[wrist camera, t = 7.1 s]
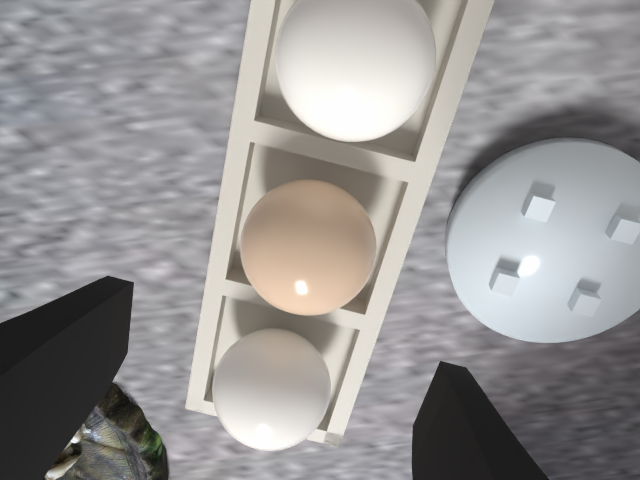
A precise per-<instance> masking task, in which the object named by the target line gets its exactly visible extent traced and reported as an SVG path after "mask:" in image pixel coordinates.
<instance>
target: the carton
mask: <svg viewBox="0 0 640 480" xmlns="http://www.w3.org/2000/svg"><path fill="white" fill-rule="evenodd" d="M295 1H296V0H251V4H250V10H249V16H248V22H247V28H246V35H245V41H244V47H243V53H242V59H241V66H240V72H239V78H238V84H237V91H236V97H235V103H234V109H233V115H232V122H231V128H230V134H229V140H228V146H227V153H226V159H225V165H224V171H223V177H222V184H221V190H220V196H219V202H218V209H217V215H216V221H215V227H214V233H213V240H212V246H211V252H210V258H209V264H208V271H207V277H206V283H205V289H204V295H203V302H202V308H201V314H200V320H199V327H198V333H197V339H196V345H195V351H194V358H193V364H192V370H191V376H190V382H189V389H188V395H187V401H186V407H185V409H189V410H193V411H197V412H201V413H205V414H209V415H213V416H217V413H216V411H215V407H214V403H213V393H212V387H213V378H214V375H215V371H216V368H217V366H218V364H219V362H220V360H221V358H222V356H223V355H224V353H225V352H226V351H227V350H228V348H229V347H230V346H231V345H232V344H233V343H235V342H236V341H237V340H239V339H240V338H241V337H243V336H245V335H246V334H249V333H251V332H254V331H257V330H260V329H267V328H279V329H286V330H289V331H292V332H295V333H297V334H299V335H301V336H303V337H304V338H306V339H307V340H308V341H310V342H311V343H312V344H313V345H314V346H315V347H316V348H317V350H318V351H319V352H320V354H321V355H322V357H323V358H324V361H325V363H326V365H327V368H328V371H329V375H330V382H331V394H330V400H329V405H328V408H327V411H326V413H325V415H324V418H323V419H322V421H321V423H320V424H319V426H318V427H317V428H316V429H315V431H314V432H313V433H312V434H311V435H310V436H308V437H307V438H306V439H308V440H312V441H316V442H320V443H324V444H328V445H332V446H336V447H339V446H340V443H341V440H342V437H343V434H344V431H345V429H346V426H347V423H348V420H349V417H350V414H351V411H352V408H353V406H354V403H355V400H356V397H357V394H358V391H359V388H360V386H361V383H362V380H363V377H364V374H365V371H366V368H367V365H368V363H369V360H370V357H371V354H372V351H373V348H374V345H375V342H376V340H377V337H378V334H379V331H380V328H381V325H382V322H383V319H384V317H385V314H386V311H387V308H388V305H389V302H390V299H391V297H392V294H393V291H394V288H395V285H396V282H397V279H398V276H399V274H400V271H401V268H402V265H403V262H404V259H405V256H406V253H407V251H408V248H409V245H410V242H411V239H412V236H413V233H414V231H415V228H416V225H417V222H418V219H419V216H420V213H421V210H422V208H423V205H424V202H425V199H426V196H427V193H428V190H429V187H430V185H431V182H432V179H433V176H434V173H435V170H436V167H437V164H438V162H439V159H440V156H441V153H442V150H443V147H444V144H445V142H446V139H447V136H448V133H449V130H450V127H451V124H452V121H453V119H454V116H455V113H456V110H457V107H458V104H459V101H460V98H461V96H462V93H463V90H464V87H465V84H466V81H467V78H468V75H469V73H470V70H471V67H472V64H473V61H474V58H475V55H476V53H477V50H478V47H479V44H480V41H481V38H482V35H483V32H484V30H485V27H486V24H487V21H488V18H489V15H490V12H491V9H492V7H493V4H494V1H495V0H417V1H418V2H419V4H420V5H421V6H422V8H423V10H424V11H425V13H426V15H427V17H428V19H429V22H430V24H431V27H432V30H433V34H434V38H435V45H436V65H435V72H434V76H433V80H432V84H431V86H430V89H429V91H428V94H427V95H426V97H425V99H424V101H423V103H422V104H421V105H420V107H419V108H418V110H417V111H416V112H415V113H414V114H413V115H412V116H411V118H410V119H409V120H407V121H406V122H405V123H404V124H403V125H402V126H400V127H399V128H397V129H396V130H394V131H393V132H391V133H389V134H387V135H384V136H382V137H379V138H376V139H373V140H368V141H362V142H345V141H339V140H334V139H331V138H328V137H325V136H323V135H321V134H319V133H317V132H315V131H314V130H312V129H311V128H309V127H308V126H306V125H305V124H304V123H303V122H302V121H300V119H299V118H298V117H297V116H296V115H295V114H294V113H293V111H292V110H291V109H290V107H289V106H288V104H287V103H286V101H285V99H284V97H283V95H282V92H281V90H280V87H279V84H278V80H277V76H276V69H275V47H276V41H277V37H278V33H279V29H280V27H281V24H282V22H283V20H284V18H285V16H286V14H287V12H288V10H289V9H290V8H291V6H292V5H293V4H294V2H295ZM301 179H315V180H321V181H326V182H329V183H332V184H335V185H337V186H339V187H341V188H343V189H344V190H346V191H347V192H349V193H350V194H351V195H353V196H354V197H355V198H356V199H357V200H358V201H359V202H360V203H361V205H362V206H363V207H364V209H365V210H366V212H367V214H368V216H369V217H370V219H371V222H372V224H373V227H374V231H375V236H376V247H377V249H376V259H375V263H374V268H373V270H372V273H371V275H370V277H369V279H368V281H367V283H366V284H365V286H364V287H363V289H362V290H361V291H360V292H359V293H358V295H356V296H355V297H354V298H353V299H352V300H351V301H350V302H348V303H347V304H345V305H344V306H342V307H340V308H338V309H336V310H334V311H331V312H329V313H325V314H320V315H309V316H306V315H297V314H292V313H289V312H285V311H283V310H280V309H278V308H276V307H274V306H273V305H271V304H269V303H268V302H267V301H265V300H264V299H263V298H262V297H261V296H260V295H259V294H258V293H257V292H256V291H255V289H254V288H253V287H252V285H251V283H250V282H249V280H248V278H247V276H246V274H245V272H244V269H243V266H242V261H241V256H240V240H241V233H242V229H243V226H244V223H245V221H246V218H247V216H248V214H249V213H250V211H251V209H252V208H253V207H254V205H255V204H256V203H257V202H258V201H259V199H261V198H262V197H263V196H264V195H265V194H266V193H268V192H269V191H271V190H272V189H274V188H275V187H277V186H280V185H282V184H284V183H287V182H290V181H295V180H301ZM217 417H218V416H217Z"/></svg>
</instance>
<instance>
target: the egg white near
mask: <svg viewBox="0 0 640 480" xmlns="http://www.w3.org/2000/svg"><path fill="white" fill-rule="evenodd" d="M435 65H436V45H435V38H434V34H433V30H432V27H431V24H430V22H429V19H428V17H427V15H426V13H425V11H424V10H423V8H422V6H421V5H420V4H419V2H418V1H417V0H296V1H295V2H294V4H293V5H292V6H291V8H290V9H289V10H288V12H287V14H286V16H285V18H284V20H283V22H282V24H281V27H280V29H279V33H278V37H277V41H276V47H275V69H276V76H277V80H278V84H279V87H280V90H281V92H282V95H283V97H284V99H285V101H286V103H287V104H288V106H289V107H290V109H291V110H292V111H293V113H294V114H295V115H296V116H297V117H298V118H299V119H300V121H302V122H303V123H304V124H305V125H306V126H308V127H309V128H311V129H312V130H314V131H315V132H317V133H319V134H321V135H323V136H325V137H328V138H331V139H334V140H339V141H345V142H362V141H368V140H373V139H376V138H379V137H382V136H384V135H387V134H389V133H391V132H393V131H394V130H396V129H397V128H399V127H400V126H402V125H403V124H404V123H405V122H406V121H407V120H409V119H410V118H411V116H412V115H413V114H414V113H415V112H416V111H417V110H418V108H419V107H420V105H421V104H422V103H423V101H424V99H425V97H426V95H427V94H428V91H429V89H430V86H431V84H432V80H433V76H434V72H435Z"/></svg>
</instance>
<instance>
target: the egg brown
mask: <svg viewBox="0 0 640 480" xmlns="http://www.w3.org/2000/svg"><path fill="white" fill-rule="evenodd" d="M376 249H377V247H376V236H375V231H374V227H373V224H372V222H371V219H370V217H369V216H368V214H367V212H366V210H365V209H364V207H363V206H362V205H361V203H360V202H359V201H358V200H357V199H356V198H355V197H354V196H353V195H351V194H350V193H349V192H347V191H346V190H344V189H343V188H341V187H339V186H337V185H335V184H332V183H329V182H326V181H321V180H315V179H301V180H295V181H290V182H287V183H284V184H282V185H280V186H277V187H275V188H274V189H272V190H271V191H269V192H268V193H266V194H265V195H264V196H263V197H262V198H261V199H259V201H258V202H257V203H256V204H255V205H254V207H253V208H252V209H251V211H250V213H249V214H248V216H247V218H246V221H245V223H244V226H243V229H242V233H241V240H240V256H241V261H242V266H243V269H244V272H245V274H246V276H247V278H248V280H249V282H250V283H251V285H252V287H253V288H254V289H255V291H256V292H257V293H258V294H259V295H260V296H261V297H262V298H263V299H264V300H265V301H267V302H268V303H269V304H271V305H273V306H274V307H276V308H278V309H280V310H283V311H285V312H289V313H292V314H297V315H306V316H309V315H320V314H325V313H329V312H331V311H334V310H336V309H338V308H340V307H342V306H344V305H345V304H347V303H348V302H350V301H351V300H352V299H353V298H354V297H355V296H356V295H358V293H359V292H360V291H361V290H362V289H363V287H364V286H365V284H366V283H367V281H368V279H369V277H370V275H371V273H372V270H373V268H374V263H375V259H376Z"/></svg>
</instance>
